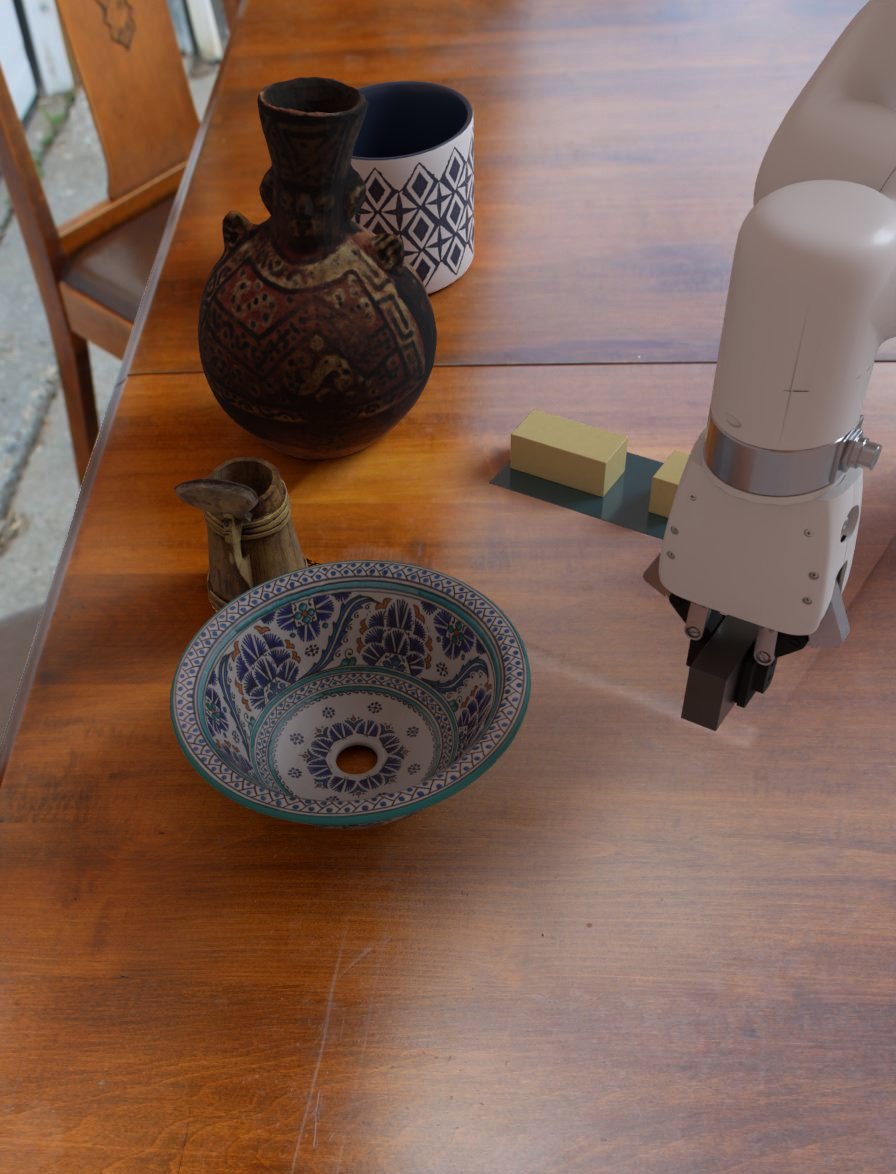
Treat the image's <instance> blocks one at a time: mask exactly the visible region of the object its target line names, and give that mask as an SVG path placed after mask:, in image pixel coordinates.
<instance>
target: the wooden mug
mask: <svg viewBox="0 0 896 1174" xmlns="http://www.w3.org/2000/svg"><path fill="white" fill-rule="evenodd" d="M173 491H174V492H175V495H176V496H177V497H178V498H179V500H180V501H182V502H183V503H185V504H186V505H188V506H191V507H193V508H196V509H199V510H201V511H202V514H203V518H204V521H205V525H206V533H207V549H208V573H207V576H206V585H207V597H208V596H209V598H208V600H209V599H210V601H211V604H212V606H213V607H214V608H215V610H217V611H219V610H220V609H221V608H223V607H224V606H225V605H226V604H228V603H229V602H230V601H232V600H233V599H235V598H236V597H238V596H239V595H241V594H243V593H244V592H246V591H248V590H250V589H251V588H253V587H255V586H257V585H259V584H261V583H263V582H266V581H268V580H270V579H272V578H275V577H278V576H280V575H283V574H285V573H289V572H292V571H295V570H298V569H302V568H306V567H309V564H308V559H307V557H305V555H304V554H303V552H302V549H301V545H300V542H299V538H298V535H297V532H296V531H297V530H296V529H295V525H294V522H293V521H294V520H293V518H292V503H291V499H290V495H289V493H288V489H287V486H286V483H285V481H284V480H283V479H282V478H281V475H280V471H279V469H278V468H277V467H276V466H275V464H273V463H271V462H270V461H268V460H267V459H264V458H261V457H257V456H238V457H232V458H229V459H226V460H224V461H222V462H221V463H220V464H218V465H217V466H216V467H214V468H213V469H212V470H211V471H210V473H209V474H208V475H207V477H202V478H195V479H189V480H186V481H183V482H180V483H178V484H177V485H175V486H174V488H173ZM210 601H209V602H210ZM211 604H210V605H211Z"/></svg>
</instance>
